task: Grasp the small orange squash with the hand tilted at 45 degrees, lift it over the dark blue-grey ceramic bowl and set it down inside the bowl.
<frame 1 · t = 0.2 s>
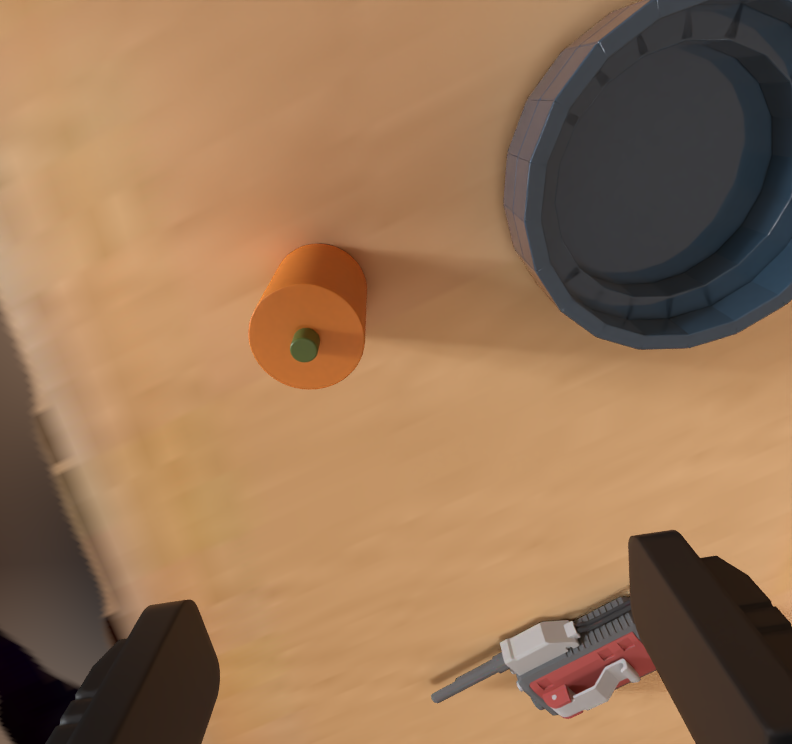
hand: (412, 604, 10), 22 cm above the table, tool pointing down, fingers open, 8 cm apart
grey and red device: (546, 649, 46), on the table
bowl: (650, 174, 28), on the table
squash: (320, 289, 30), on the table
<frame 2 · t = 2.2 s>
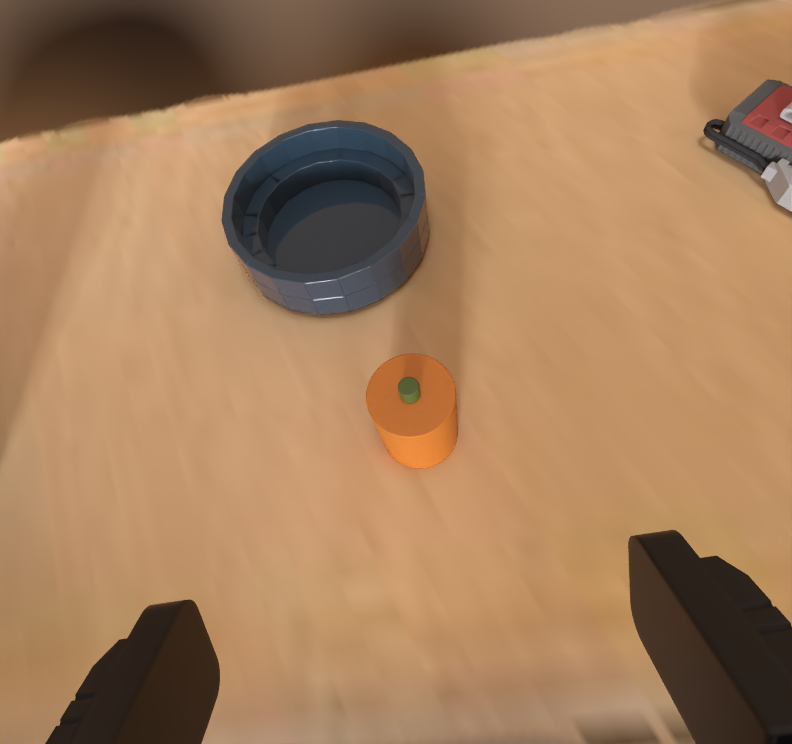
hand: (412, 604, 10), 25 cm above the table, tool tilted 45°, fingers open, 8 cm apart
bowl: (336, 237, 45), on the table
squash: (420, 431, 37), on the table
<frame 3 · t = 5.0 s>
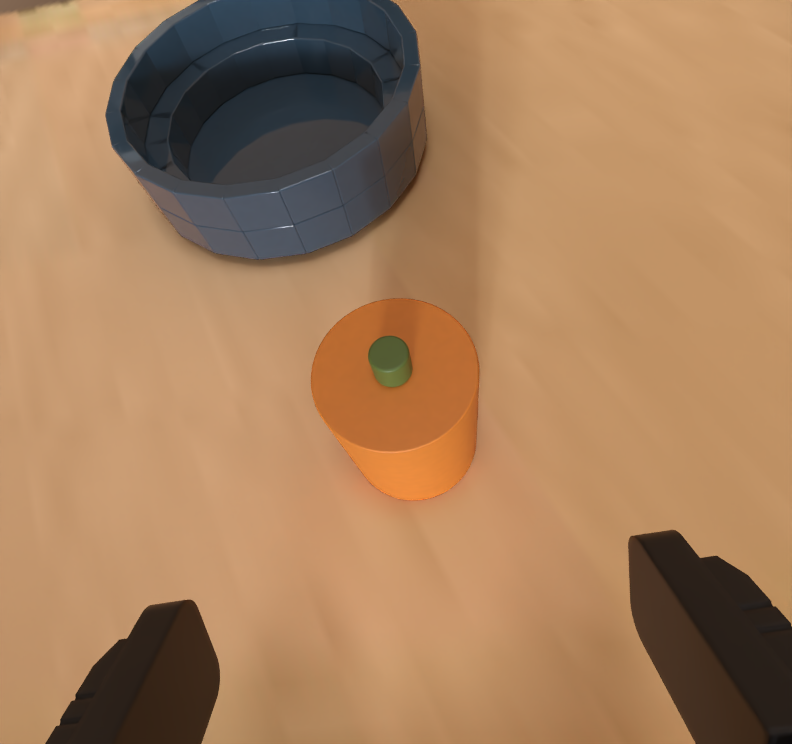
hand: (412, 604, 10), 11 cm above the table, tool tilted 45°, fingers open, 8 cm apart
bowl: (290, 152, 31), on the table
squash: (414, 438, 23), on the table
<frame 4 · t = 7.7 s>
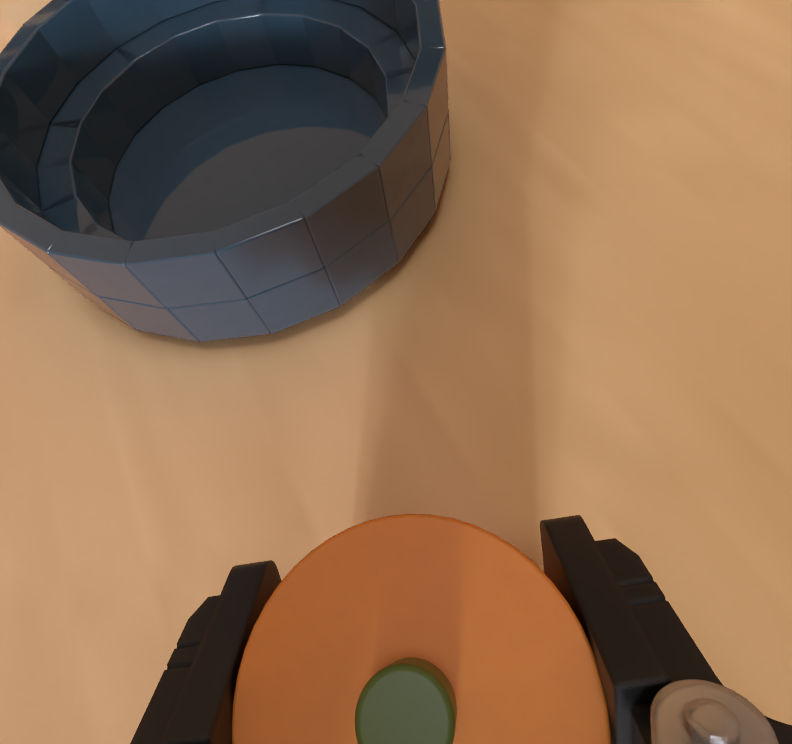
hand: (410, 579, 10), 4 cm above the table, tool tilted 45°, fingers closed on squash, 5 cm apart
bowl: (255, 176, 22), on the table
squash: (438, 664, 14), on the table, touching gripper
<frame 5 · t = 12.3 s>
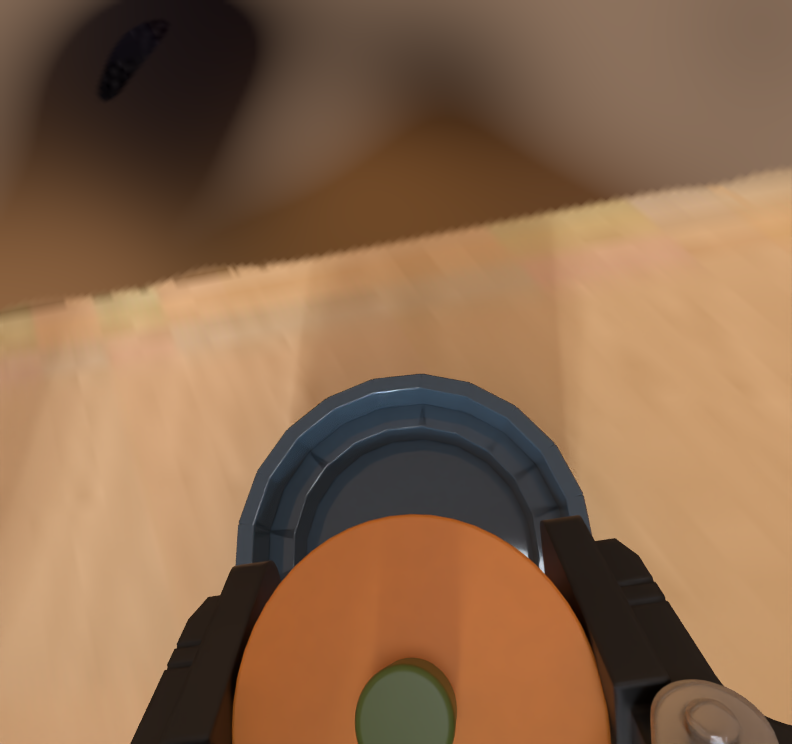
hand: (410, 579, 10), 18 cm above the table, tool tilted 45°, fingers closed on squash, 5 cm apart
bowl: (417, 550, 28), on the table
squash: (438, 665, 14), point 14 cm above the table, touching gripper
when the fingers open (5 cm above the table, at t = 16.9 s): squash stays where it is, resting on bowl.
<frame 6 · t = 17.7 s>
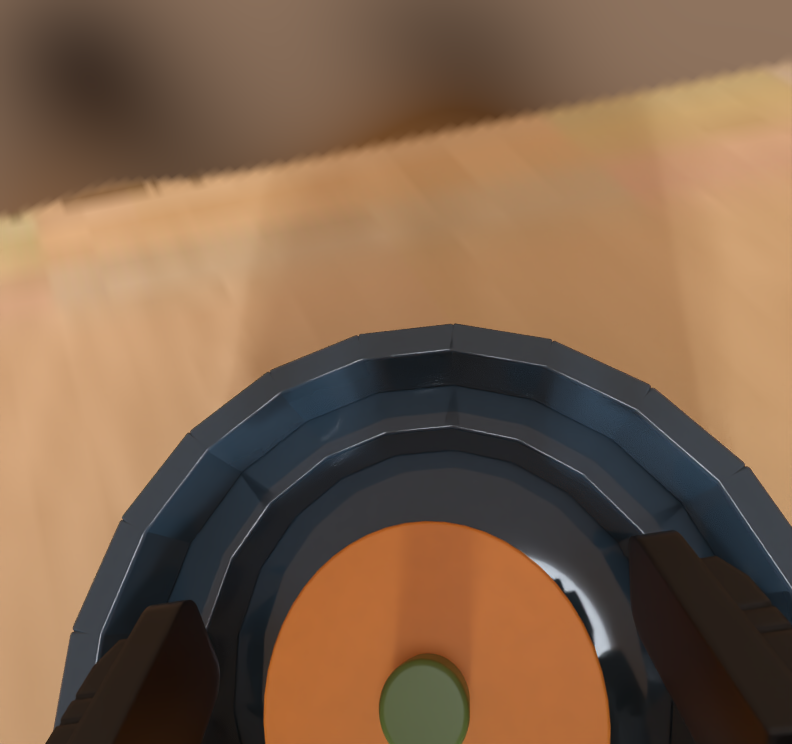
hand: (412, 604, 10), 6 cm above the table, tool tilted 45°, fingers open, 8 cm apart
bowl: (443, 658, 15), on the table
squash: (447, 661, 14), point 1 cm above the table, touching bowl
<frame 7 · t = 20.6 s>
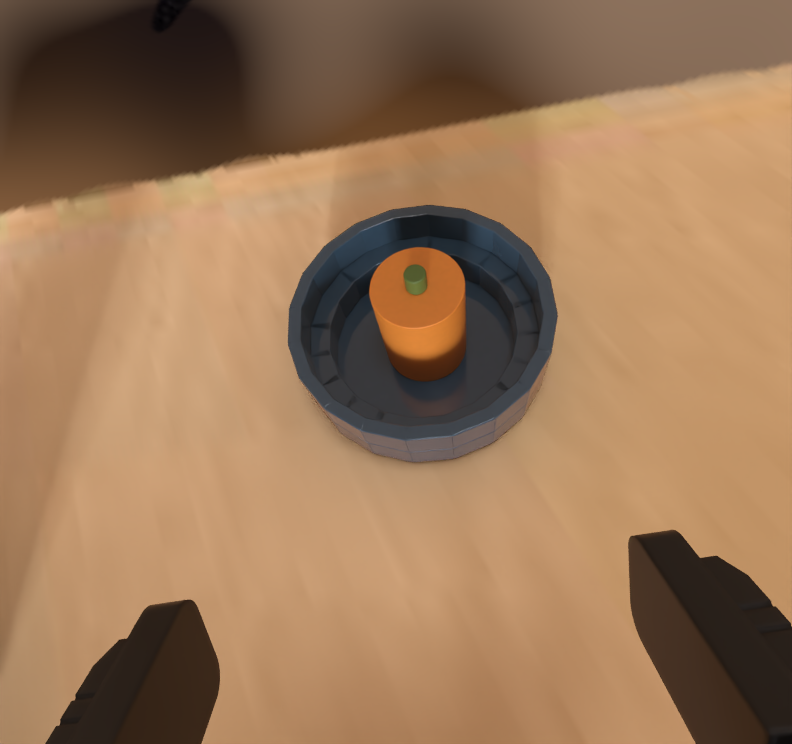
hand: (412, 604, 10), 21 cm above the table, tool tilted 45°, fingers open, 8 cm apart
bowl: (424, 349, 36), on the table
squash: (426, 345, 35), point 1 cm above the table, touching bowl
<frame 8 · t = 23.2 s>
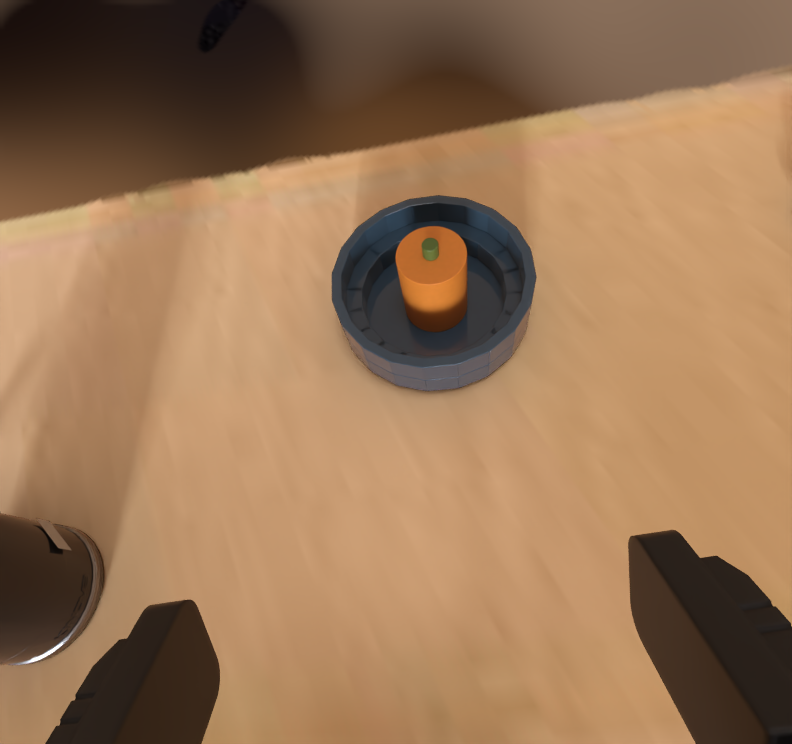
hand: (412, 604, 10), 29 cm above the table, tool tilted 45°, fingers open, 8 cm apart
bowl: (434, 308, 46), on the table
squash: (436, 305, 45), point 1 cm above the table, touching bowl
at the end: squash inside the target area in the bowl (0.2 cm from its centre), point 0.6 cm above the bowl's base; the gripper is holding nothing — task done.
